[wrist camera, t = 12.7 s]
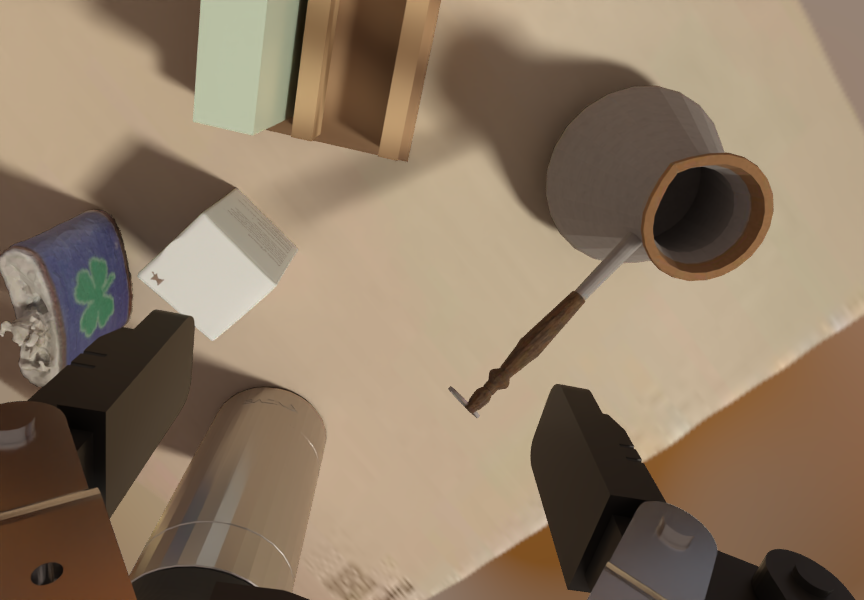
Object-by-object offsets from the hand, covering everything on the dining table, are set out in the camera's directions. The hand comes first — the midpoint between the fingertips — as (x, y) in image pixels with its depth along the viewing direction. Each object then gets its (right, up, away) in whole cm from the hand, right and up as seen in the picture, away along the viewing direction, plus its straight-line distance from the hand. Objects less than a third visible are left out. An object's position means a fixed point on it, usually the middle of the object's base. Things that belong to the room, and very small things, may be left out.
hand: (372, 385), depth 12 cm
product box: (-12, +6, +28) cm, 31 cm away
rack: (-5, +19, +22) cm, 30 cm away
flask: (-22, +4, +28) cm, 36 cm away
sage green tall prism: (-8, +18, +21) cm, 29 cm away
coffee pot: (+11, +8, +28) cm, 31 cm away
